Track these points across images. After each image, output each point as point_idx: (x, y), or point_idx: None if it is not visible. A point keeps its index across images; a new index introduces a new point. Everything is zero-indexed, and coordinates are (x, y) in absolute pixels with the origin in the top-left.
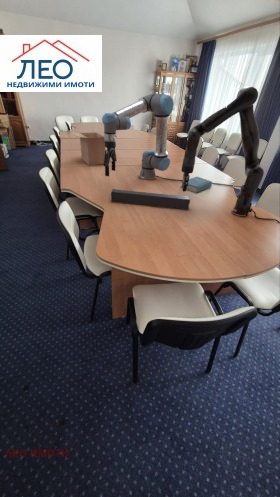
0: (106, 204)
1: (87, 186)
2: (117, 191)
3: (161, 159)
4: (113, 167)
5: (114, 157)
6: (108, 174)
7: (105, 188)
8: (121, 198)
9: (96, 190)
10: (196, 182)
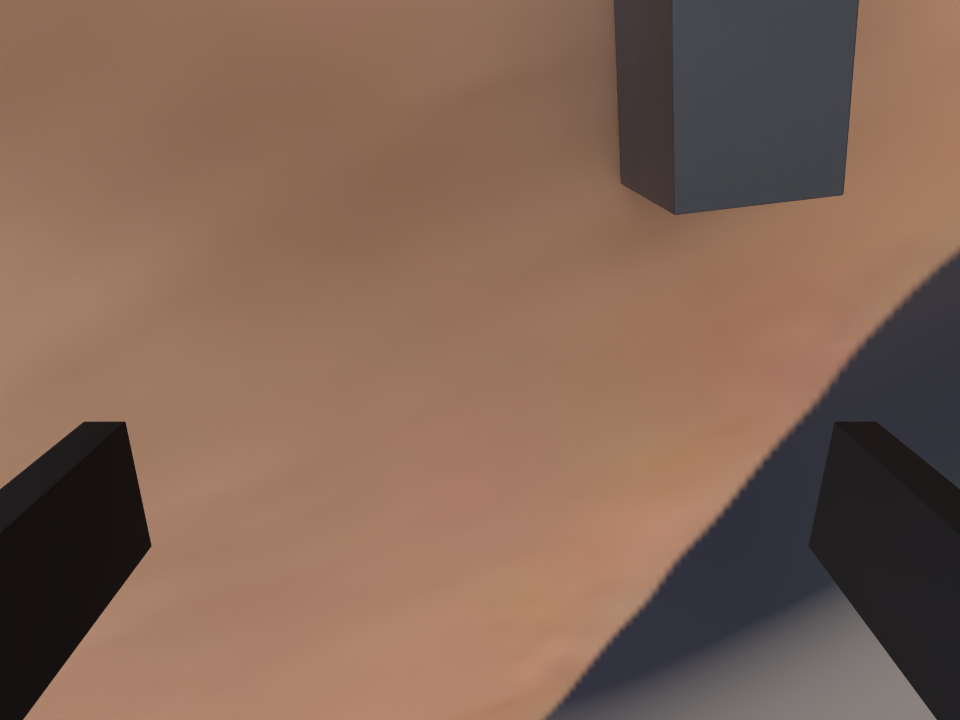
0: (861, 216)
1: (289, 690)
2: (798, 49)
3: None
4: (69, 557)
5: None
6: (917, 471)
7: (228, 450)
8: None
9: (373, 540)
10: None
